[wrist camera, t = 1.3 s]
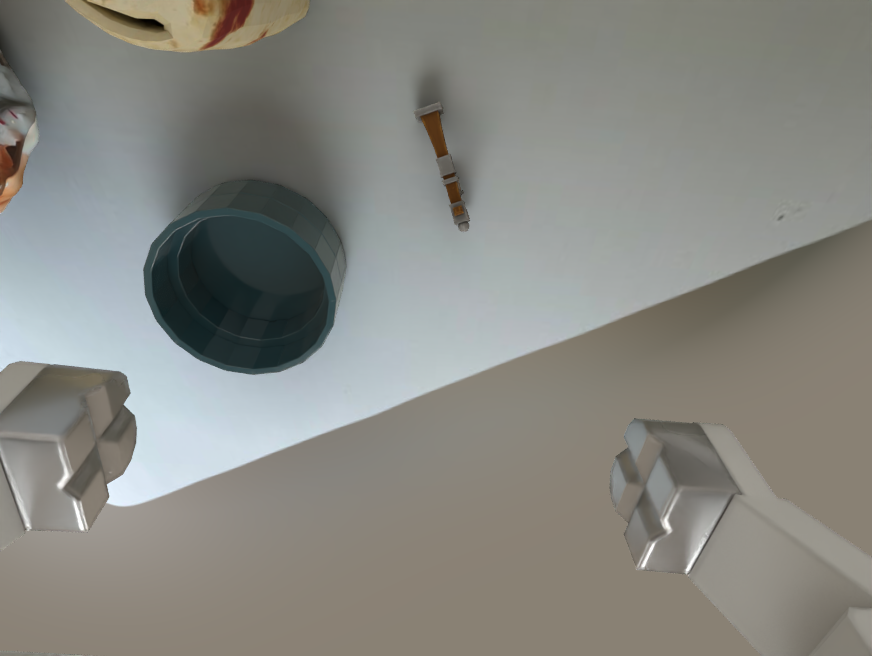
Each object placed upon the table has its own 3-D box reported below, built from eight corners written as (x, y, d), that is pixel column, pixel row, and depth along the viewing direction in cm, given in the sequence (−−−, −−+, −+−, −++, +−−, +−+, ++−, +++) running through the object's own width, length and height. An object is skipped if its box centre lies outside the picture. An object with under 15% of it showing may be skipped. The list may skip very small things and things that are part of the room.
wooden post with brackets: (456, 236, 41) (450, 235, 36) (422, 124, 40) (412, 110, 36) (480, 228, 41) (478, 226, 36) (446, 116, 40) (439, 100, 35)
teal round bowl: (289, 148, 38) (268, 175, 33) (374, 294, 44) (368, 336, 39) (142, 221, 41) (102, 256, 36) (241, 350, 47) (219, 396, 42)
